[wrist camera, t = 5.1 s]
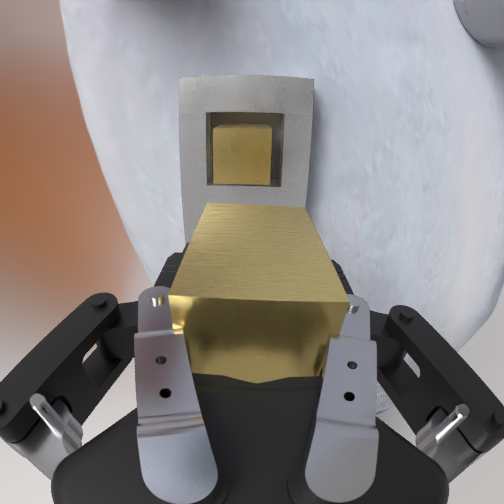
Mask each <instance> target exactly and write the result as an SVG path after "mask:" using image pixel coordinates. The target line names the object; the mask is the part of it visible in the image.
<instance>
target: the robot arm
mask: <svg viewBox="0 0 504 504" xmlns="http://www.w3.org/2000/svg"><path fill="white" fill-rule="evenodd" d="M454 4H455V8H456V11H457V14H458V16H459V18H460V20H461V22H462V24H463V25H464V27H465V28H466V30H467V31H468V32H469V33H470V35H471V36H472V37H473V38H474V39H475V40H476V41H478V42H479V43H480V44H482V45H484V46H485V47H489V48H504V0H454ZM189 243H190V242H187V243H186V246H185V248H184V250H183V252H182V253H176V252H175V253H174V254H172V255H171V256H170V257H168V259H167V261H166V263H165V266H164V267H163V269H162V271H161V273H160V275H159V277H158V279H157V281H156V283H155V285H154V287H151V288H148V289H146V290H144V291H143V292H142V293H141V294H140V296H139V298H138V301H135V302H129V303H121V304H118V301H117V298H116V297H115V296H114V295H113V294H110V293H98V294H94V295H92V296H90V297H89V298H87V299H86V300H85V301H84V302H83V303H82V304H81V305H79V306H78V307H77V308H76V309H75V310H74V311H73V312H72V313H70V314H69V315H68V316H67V317H66V318H65V319H64V320H63V321H62V322H61V323H60V324H58V325H57V326H56V327H55V328H54V329H53V330H52V331H51V332H50V333H49V334H48V335H47V336H46V337H45V338H44V339H43V340H42V341H41V342H40V343H38V344H37V345H36V346H35V348H33V350H31V351H30V352H29V353H28V354H27V355H26V356H25V357H24V358H23V359H22V360H21V362H19V363H18V365H16V366H15V367H14V369H13V370H12V371H11V372H10V373H9V374H8V375H7V376H6V377H5V378H4V379H3V380H2V381H1V382H0V437H1V438H2V439H3V440H4V441H5V442H6V443H7V444H8V445H9V446H10V447H12V448H13V449H14V450H15V451H16V452H18V453H19V454H20V455H21V456H23V457H25V458H27V459H28V460H29V461H30V462H31V463H32V464H33V465H34V466H35V467H37V468H38V469H39V470H40V471H41V472H42V473H43V474H44V475H46V476H47V477H48V478H49V479H50V480H51V493H52V497H53V501H54V504H447V501H448V496H449V483H450V482H451V481H452V480H453V479H454V478H456V477H457V476H458V475H459V474H460V473H461V472H463V471H464V470H465V469H466V468H467V467H468V466H469V465H471V464H473V463H474V462H475V461H477V460H478V459H479V458H480V457H482V456H483V455H484V454H486V453H487V452H488V451H489V450H491V449H492V448H493V447H494V446H496V445H497V444H498V443H499V442H500V441H501V440H503V439H504V406H503V405H502V403H501V402H500V401H499V400H498V398H497V397H496V396H495V395H494V394H493V392H492V391H491V390H490V389H489V388H488V387H487V385H486V384H485V383H484V382H483V381H482V380H481V378H480V377H479V376H478V375H477V374H476V373H475V372H474V371H473V369H472V368H471V367H470V366H469V365H468V364H467V363H466V362H465V361H464V359H463V358H462V357H461V356H460V355H459V354H458V353H457V352H456V351H455V350H454V349H453V348H452V347H451V346H450V345H449V343H448V342H447V341H446V340H445V339H444V338H443V337H442V336H441V335H440V334H439V333H438V332H437V331H436V330H435V329H434V328H433V327H432V326H431V325H430V324H429V323H428V322H427V321H426V320H425V319H424V318H423V317H422V316H421V315H420V314H419V313H418V312H417V311H416V310H414V309H412V308H410V307H408V306H404V305H397V306H394V307H392V308H391V309H390V312H389V314H388V315H387V314H383V313H378V312H374V311H371V310H370V309H369V305H368V303H367V302H366V301H365V300H364V299H362V298H361V297H359V296H356V295H354V293H353V291H352V289H351V287H350V285H349V283H348V281H347V279H346V277H345V275H344V274H343V271H342V269H341V267H340V265H338V264H337V263H336V262H335V261H334V260H331V261H332V264H333V266H334V268H335V270H336V272H337V274H338V277H339V279H340V281H341V283H342V285H343V288H344V290H345V292H346V294H347V297H348V299H349V301H350V303H349V306H348V309H347V312H346V316H345V319H344V322H343V325H342V328H341V331H340V334H334V333H330V334H329V336H328V339H327V342H326V345H325V350H324V354H323V357H322V360H321V363H320V366H319V369H318V372H317V375H316V376H308V377H287V378H282V379H278V380H273V381H268V382H263V383H252V382H247V381H243V380H239V379H235V378H231V377H228V376H224V375H213V374H200V373H191V369H190V364H189V359H188V355H187V350H186V345H185V340H184V334H183V329H182V328H173V325H172V318H171V312H170V305H169V298H168V294H169V291H170V289H171V286H172V284H173V281H174V279H175V276H176V274H177V271H178V269H179V267H180V264H181V262H182V259H183V257H184V255H185V252H186V250H187V247H188V245H189ZM95 343H96V344H97V348H96V349H95V350H94V351H93V352H92V354H91V355H90V356H89V357H88V358H87V359H86V360H85V361H84V362H83V364H82V361H83V358H84V356H85V354H86V353H87V352H88V351H89V350H90V349H91V348H92V347H93V345H94V344H95ZM407 353H408V354H409V355H410V356H411V358H412V359H413V360H414V361H415V362H416V364H417V365H418V366H419V368H420V377H419V378H418V377H417V375H416V374H415V373H414V372H413V370H412V369H411V368H410V367H409V365H408V364H407V363H406V362H405V361H404V357H405V355H406V354H407ZM132 358H135V382H136V399H137V408H135V409H134V410H133V411H131V412H130V413H129V414H127V415H126V416H124V417H123V418H122V419H120V420H119V421H118V422H116V423H115V424H113V425H112V426H110V427H109V428H108V429H106V430H105V431H103V432H102V433H100V434H99V435H97V436H96V437H95V438H93V439H92V440H90V441H89V442H87V443H86V444H84V445H83V446H82V442H81V440H82V436H83V430H82V427H81V426H82V425H83V423H84V422H85V420H86V419H87V418H88V416H89V415H90V414H91V412H92V411H93V410H94V408H95V407H96V406H97V405H98V403H99V402H100V400H101V399H102V398H103V397H104V395H105V394H106V393H107V391H108V390H109V389H110V387H111V386H112V385H113V384H114V382H115V381H116V380H117V378H118V377H119V376H120V374H121V373H122V372H123V370H124V369H125V368H126V367H127V365H128V364H129V363H130V362H131V360H132ZM377 381H378V382H379V383H380V385H381V386H382V388H383V389H384V390H385V392H386V393H387V395H388V396H389V398H390V399H391V400H392V402H393V403H394V405H395V406H396V407H397V409H398V410H399V412H400V413H401V415H402V416H403V417H404V419H405V420H406V422H407V423H408V425H409V426H410V428H411V429H412V430H413V432H414V433H415V435H416V447H415V446H414V445H413V444H411V443H410V442H409V441H407V440H406V439H405V438H404V437H402V436H401V435H400V434H398V433H397V432H395V431H394V430H393V429H392V428H390V427H389V426H388V425H387V424H385V423H384V422H383V421H381V420H380V419H379V418H377V417H376V394H377Z"/></svg>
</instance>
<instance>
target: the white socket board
mask: <svg viewBox="0 0 504 504" xmlns="http://www.w3.org/2000/svg"><path fill="white" fill-rule="evenodd" d="M313 98H314V79H308V78H298V77H285V76H266V75H212V76H194V77H181V78H179V144H180V170H181V189H182V204H183V218H184V231H185V242H186V243H187V242H190V240H191V238H192V236H193V234H194V231H195V229H196V227H197V224H198V222H199V220H200V218H201V215H202V213H203V211H204V209H205V207H206V204H207V203H229V204H252V205H271V206H288V207H303V208H305V207H306V197H307V186H308V174H309V162H310V148H311V134H312V117H313ZM211 112H265V113H282V127H281V149H280V169H279V179H270V185H255V184H213V178H212V175H211Z"/></svg>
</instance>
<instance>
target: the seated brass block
mask: <svg viewBox="0 0 504 504" xmlns="http://www.w3.org/2000/svg"><path fill="white" fill-rule="evenodd" d="M271 149H272V128H271V127H270V125H269V124H239V123H224V124H221V125H219V126H217V127H215V128H213V184H255V185H270V172H271Z"/></svg>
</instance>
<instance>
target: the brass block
mask: <svg viewBox="0 0 504 504" xmlns="http://www.w3.org/2000/svg"><path fill="white" fill-rule="evenodd" d="M168 298H169V305H170V312H171V318H172V325H173V328H182V329H183V334H184V340H185V345H186V350H187V355H188V359H189V364H190V369H191V373H200V374H213V375H224V376H228V377H231V378H235V379H239V380H243V381H247V382H252V383H263V382H268V381H273V380H278V379H282V378H287V377H308V376H316V375H317V372H318V369H319V366H320V363H321V360H322V357H323V354H324V350H325V345H326V342H327V339H328V336H329V334H330V333H334V334H340V331H341V328H342V325H343V322H344V319H345V316H346V312H347V309H348V306H349V303H350V301H349V299H348V297H347V294H346V292H345V290H344V288H343V285H342V283H341V281H340V279H339V277H338V274H337V272H336V270H335V268H334V266H333V264H332V261H331V259H330V257H329V255H328V253H327V251H326V249H325V247H324V244H323V242H322V240H321V238H320V236H319V234H318V232H317V230H316V228H315V226H314V224H313V222H312V220H311V218H310V216H309V214H308V212H307V210H306V208H303V207H288V206H271V205H252V204H229V203H207V204H206V207H205V209H204V211H203V213H202V215H201V218H200V220H199V222H198V224H197V227H196V229H195V231H194V234H193V236H192V238H191V240H190V243H189V245H188V247H187V250H186V252H185V255H184V257H183V259H182V262H181V264H180V267H179V269H178V271H177V274H176V276H175V279H174V281H173V284H172V286H171V289H170V291H169V294H168Z"/></svg>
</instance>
